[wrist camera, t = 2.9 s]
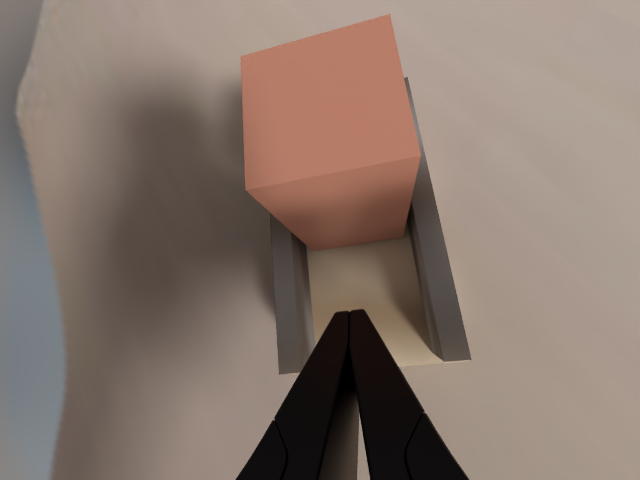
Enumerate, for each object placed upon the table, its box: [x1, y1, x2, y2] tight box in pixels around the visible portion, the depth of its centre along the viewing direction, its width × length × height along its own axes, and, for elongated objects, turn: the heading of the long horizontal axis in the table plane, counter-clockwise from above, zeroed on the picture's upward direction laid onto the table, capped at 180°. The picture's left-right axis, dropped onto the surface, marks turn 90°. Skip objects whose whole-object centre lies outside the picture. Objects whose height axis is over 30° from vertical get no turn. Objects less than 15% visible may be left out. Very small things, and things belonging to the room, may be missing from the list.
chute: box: [270, 77, 471, 375], centre depth 16 cm, size 16×9×4 cm, turn 6°
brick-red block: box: [241, 14, 421, 251], centre depth 13 cm, size 5×5×8 cm
